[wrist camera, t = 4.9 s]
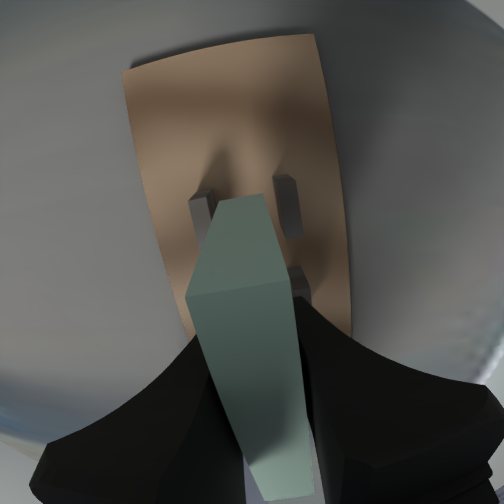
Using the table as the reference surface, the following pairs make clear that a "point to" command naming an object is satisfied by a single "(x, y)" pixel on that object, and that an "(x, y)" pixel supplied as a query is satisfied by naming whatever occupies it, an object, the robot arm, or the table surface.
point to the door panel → (253, 344)
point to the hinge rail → (244, 159)
